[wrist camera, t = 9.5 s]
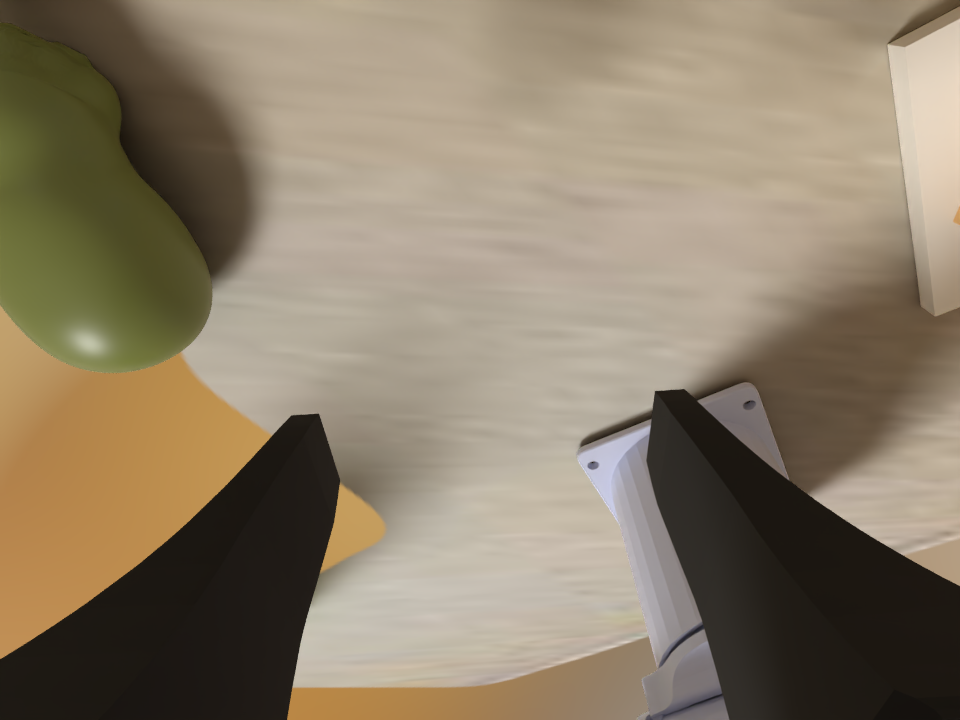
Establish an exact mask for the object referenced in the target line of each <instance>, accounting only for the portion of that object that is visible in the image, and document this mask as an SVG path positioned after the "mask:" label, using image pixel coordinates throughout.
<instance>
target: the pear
mask: <svg viewBox="0 0 960 720" xmlns="http://www.w3.org/2000/svg"><path fill="white" fill-rule="evenodd" d="M120 128H121V105H120V101H119V98H118V95H117V93H116V91H115V89H114V88H113V86H112V85H111V84H110V82H109V81H108V80H107V79H106V78H105V77H104V76H103V75H101V74H100V73H99V72H97V71H96V70H95V69H94V68H93V67H92V65H91V63H90V61H89V60H88V58H87V57H86V56H85V55H84V54H81V53H79V52H76V51H74V50H73V49H70V48H69V47H67V46H65V45H63V44H61V43H59V42H48V41H45V40H43V39H42V38H40V37H38V36H36V35H34V34H32V33H30V32H28V31H26V30H24V29H22V28H20V27H17V26H15V25H13V24H11V23H0V305H1V307H2V308H3V309H4V311H5V312H6V313H7V314H8V315H9V317H10V318H11V319H12V320H13V322H14V323H15V324H16V325H17V326H18V327H19V328H20V329H21V331H22V332H23V333H24V334H25V335H26V336H27V337H28V338H30V339H31V340H32V341H33V342H34V343H35V344H36V345H38V346H39V347H40V348H41V349H43V350H44V351H45V352H47V353H48V354H50V355H51V356H53V357H55V358H57V359H58V360H60V361H62V362H64V363H66V364H69V365H71V366H74V367H77V368H80V369H84V370H88V371H94V372H102V373H122V372H130V371H136V370H141V369H145V368H148V367H151V366H154V365H157V364H159V363H161V362H164V361H166V360H168V359H170V358H171V357H173V356H175V355H176V354H178V353H180V352H181V351H182V350H184V349H185V348H186V347H187V346H189V345H190V344H191V343H192V342H193V341H194V340H195V338H196V337H197V336H198V335H199V333H200V332H201V331H202V329H203V327H204V326H205V324H206V322H207V319H208V317H209V314H210V310H211V305H212V283H211V278H210V274H209V270H208V267H207V264H206V262H205V259H204V257H203V255H202V253H201V251H200V249H199V248H198V246H197V244H196V243H195V241H194V239H193V238H192V236H191V234H190V233H189V231H188V230H187V228H186V227H185V225H184V224H183V222H182V221H181V220H180V218H179V217H178V216H177V214H176V213H175V212H174V211H173V210H172V208H171V207H170V206H169V205H168V204H167V203H166V202H165V201H164V200H163V199H162V198H161V197H160V196H159V195H158V194H157V193H156V192H155V191H154V190H153V189H152V188H151V187H150V186H149V185H148V184H147V183H146V182H145V181H144V180H143V179H142V178H141V177H140V176H139V175H138V174H137V172H136V171H135V169H134V168H133V166H132V165H131V163H130V161H129V160H128V158H127V156H126V154H125V152H124V150H123V149H122V147H121V144H120V140H119V136H120Z"/></svg>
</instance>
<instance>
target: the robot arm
mask: <svg viewBox="0 0 960 720" xmlns="http://www.w3.org/2000/svg"><path fill="white" fill-rule="evenodd" d="M750 400H751V401H750ZM747 401H750V402H749V403H747V404H744V403H745V402H747ZM577 459H578V462H579V463H580V465H581V467H582V468H583V470H584V471H585V473H586V474H587V476H588V477H589V479H590V480H591V482H592V483H593V485H594V487H595V488H596V490H597V491H598V493H599V494H600V496H601V497H602V499H603V500H604V502H605V503H606V505H607V507H608V508H609V510H610V511H611V513H612V514H613V516H614V517H615V519H616V520H617V522H618V523H619V525H620V529H621V533H622V536H623V540H624V544H625V548H626V552H627V555H628V559H629V563H630V567H631V571H632V574H633V578H634V582H635V586H636V589H637V593H638V597H639V601H640V605H641V608H642V612H643V616H644V620H645V623H646V627H647V631H648V635H649V639H650V642H651V646H652V650H653V653H654V657H655V661H656V665H657V669H658V670H657V671H655V672H653V673H652V674H650V675H648V676H645V677H643V679H642V684H643V688H644V692H645V696H646V700H647V705H648V709H649V711H648V712H645V713H643V714H641V715H640V716H638V718H637V719H636V720H960V586H958V585H956V584H955V583H952V582H950V581H949V580H947V579H945V578H942V577H941V576H939V575H937V574H935V573H934V572H932V571H930V570H928V569H926V568H924V567H922V566H921V565H919V564H917V563H915V562H913V561H912V560H910V559H908V558H906V557H905V556H903V555H901V554H900V553H898V552H896V551H894V550H893V549H891V548H889V547H888V546H886V545H884V544H882V543H881V542H879V541H877V540H876V539H874V538H872V537H871V536H869V535H867V534H866V533H864V532H863V531H861V530H859V529H858V528H856V527H855V526H853V525H852V524H850V523H849V522H847V521H846V520H844V519H843V518H841V517H840V516H838V515H837V514H835V513H834V512H832V511H831V510H829V509H828V508H826V507H825V506H823V505H822V504H820V503H819V502H817V501H816V500H815V499H813V498H812V497H810V496H809V495H808V494H806V493H805V492H803V491H802V490H801V489H799V488H798V487H797V486H796V485H794V484H793V483H792V482H790V480H789V477H788V474H787V471H786V469H785V466H784V463H783V460H782V457H781V455H780V452H779V449H778V446H777V443H776V440H775V438H774V435H773V432H772V429H771V426H770V424H769V421H768V418H767V415H766V412H765V410H764V407H763V404H762V401H761V398H760V395H759V393H758V391H757V389H756V388H755V386H754V385H753V384H751V383H748V382H744V383H740V384H737V385H735V386H732V387H730V388H727V389H725V390H722V391H720V392H717V393H715V394H712V395H710V396H707V397H705V398H702V399H700V400H695V399H694V398H693V397H692V396H691V395H690V394H689V393H688V392H687V391H686V390H685V389H681V390H666V391H655V396H654V403H653V411H652V419H650V420H647V421H645V422H642V423H640V424H637V425H635V426H632V427H630V428H627V429H625V430H622V431H620V432H617V433H615V434H612V435H610V436H607V437H604V438H602V439H599V440H597V441H594V442H592V443H589V444H587V445H584V446H582V447H581V448H579V449H578V451H577ZM593 461H595V463H590V462H593ZM339 484H340V478H339V475H338V472H337V469H336V466H335V463H334V459H333V456H332V453H331V450H330V447H329V444H328V441H327V437H326V434H325V431H324V428H323V425H322V422H321V419H320V415H319V414H308V415H293V416H291V417H290V418H289V419H288V420H287V421H286V422H285V423H284V424H283V425H282V426H281V427H280V428H279V429H278V430H277V431H276V432H275V434H274V435H273V436H272V437H271V438H270V439H269V440H268V441H267V442H266V444H265V445H264V446H263V447H262V448H261V449H260V450H259V451H258V452H257V453H256V454H255V455H254V457H253V458H252V459H251V460H250V461H249V462H248V463H247V464H246V465H245V466H244V467H243V468H242V469H241V470H240V471H239V472H238V473H237V475H236V476H235V477H234V478H233V479H232V480H231V481H230V482H229V483H228V484H227V485H226V486H225V487H224V488H223V489H222V490H221V491H220V492H219V493H218V494H217V495H216V496H215V497H214V498H213V499H212V500H211V501H210V502H209V503H208V504H207V505H206V506H205V507H203V508H202V509H201V510H200V511H199V512H198V513H197V514H196V515H195V516H194V517H193V518H192V519H191V520H190V521H189V522H188V523H187V524H186V525H185V526H183V527H182V528H181V529H180V530H179V531H178V532H177V533H176V534H175V535H173V536H172V537H171V538H170V539H169V540H168V541H166V542H165V543H164V544H163V545H162V546H160V547H159V548H158V549H157V550H156V551H154V552H153V553H152V554H151V555H150V556H148V557H147V558H146V559H145V560H143V561H142V562H141V563H140V564H139V565H137V566H136V567H135V568H133V569H132V570H131V571H129V572H128V573H127V574H125V575H124V576H123V577H121V578H120V579H119V580H117V581H116V582H115V583H113V584H112V585H110V586H109V587H108V588H106V589H105V590H104V591H102V592H101V593H100V594H98V595H97V596H96V597H94V598H93V599H92V600H91V601H89V602H88V603H86V604H85V605H84V606H82V607H80V608H79V609H78V610H76V611H75V612H73V613H72V614H70V615H69V616H67V617H66V618H64V619H63V620H61V621H60V622H58V623H57V624H55V625H54V626H52V627H51V628H49V629H48V630H46V631H45V632H43V633H42V634H40V635H38V636H37V637H35V638H34V639H32V640H31V641H29V642H27V643H26V644H24V645H23V646H21V647H20V648H18V649H17V650H15V651H13V652H12V653H10V654H8V655H7V656H5V657H3V658H2V659H0V720H287V716H288V710H289V704H290V698H291V692H292V686H293V681H294V675H295V670H296V664H297V659H298V653H299V648H300V643H301V638H302V634H303V630H304V626H305V622H306V618H307V615H308V611H309V608H310V604H311V601H312V598H313V594H314V591H315V587H316V584H317V580H318V577H319V573H320V570H321V567H322V563H323V560H324V556H325V553H326V549H327V545H328V542H329V538H330V535H331V531H332V528H333V523H334V518H335V512H336V506H337V499H338V490H339Z"/></svg>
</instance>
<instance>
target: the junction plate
mask: <svg viewBox="0 0 960 720" xmlns="http://www.w3.org/2000/svg"><path fill="white" fill-rule="evenodd" d="M887 46H888V53H889V61H890V69H891V77H892V85H893V92H894V100H895V108H896V116H897V124H898V131H899V139H900V147H901V155H902V163H903V170H904V178H905V186H906V194H907V202H908V210H909V217H910V225H911V233H912V241H913V249H914V256H915V264H916V272H917V280H918V288H919V295H920V303H921V307H922V308H924V309H925V310H927V311H928V312H929V313H931V314H932V315H933V316H935V317H936V316H939V315H942V314H944V313H947V312H949V311H952V310H954V309H957V308H959V307H960V225H958V224H956V223H954V222H953V220H954V218H955V215H956V213H957V211H958V208H959V206H960V6H959V7H957V8H956V9H954V10H952V11H950V12H948V13H946V14H944V15H942V16H940V17H938V18H937V19H935V20H933V21H931V22H929V23H927V24H925V25H923V26H921V27H920V28H918V29H916V30H914V31H912V32H910V33H908V34H906V35H904V36H902V37H901V38H899V39H897V40H895V41H893V42H891V43H889V44H887Z"/></svg>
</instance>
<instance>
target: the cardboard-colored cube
mask: <svg viewBox="0 0 960 720" xmlns="http://www.w3.org/2000/svg"><path fill="white" fill-rule="evenodd" d="M953 222H954V223H956V224H958V225H960V206H959V208H958V211H957V213H956V215H955V218H954V220H953Z"/></svg>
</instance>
